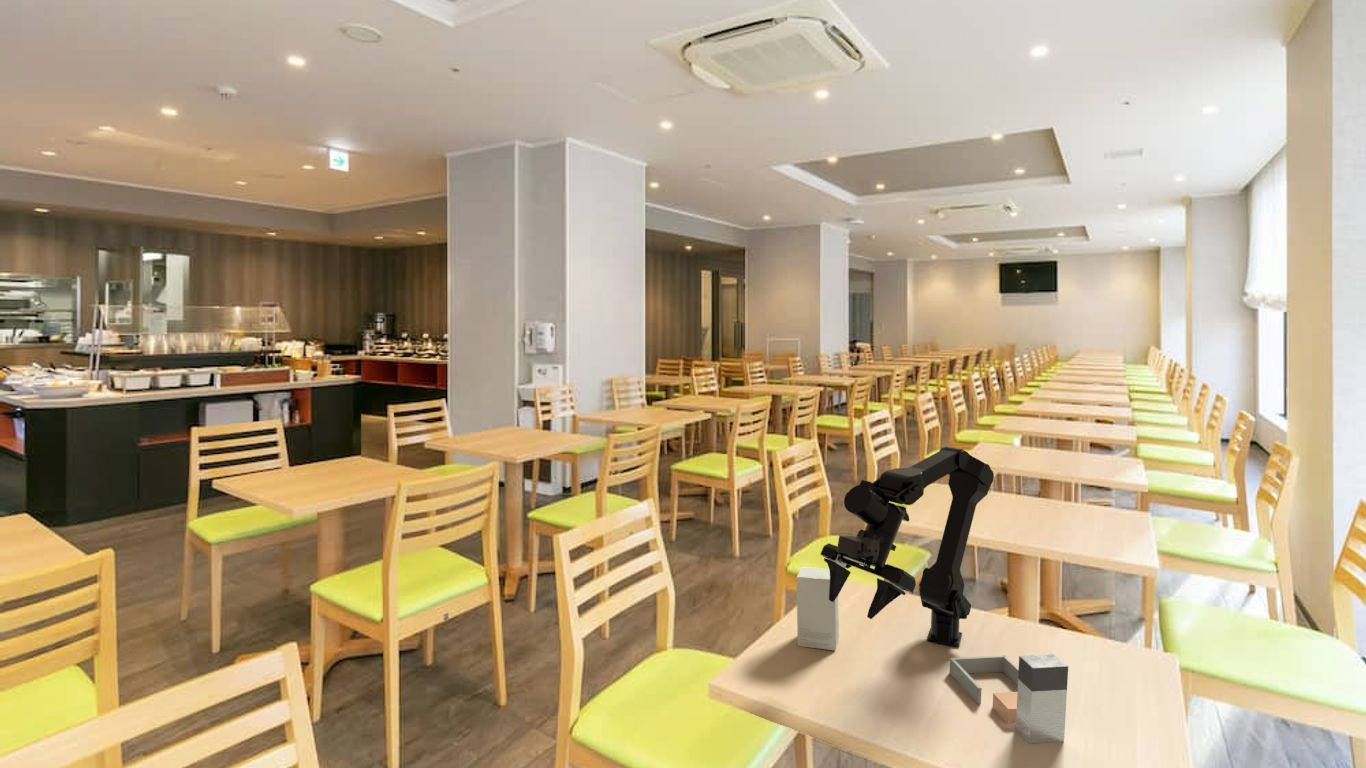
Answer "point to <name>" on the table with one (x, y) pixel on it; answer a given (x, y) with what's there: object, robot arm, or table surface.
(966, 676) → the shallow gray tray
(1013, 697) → the tan block
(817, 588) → the skincare box
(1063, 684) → the gray capped pillar
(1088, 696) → the table surface
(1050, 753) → the table surface
